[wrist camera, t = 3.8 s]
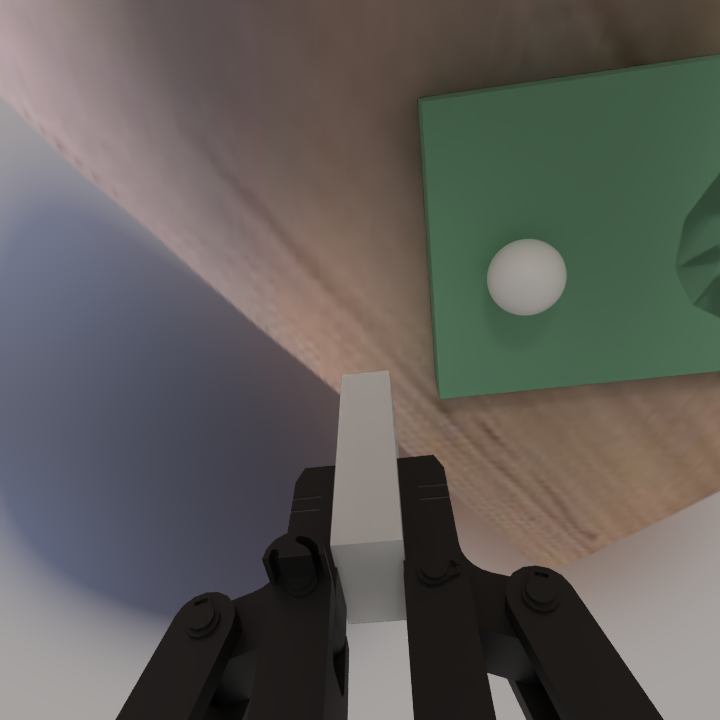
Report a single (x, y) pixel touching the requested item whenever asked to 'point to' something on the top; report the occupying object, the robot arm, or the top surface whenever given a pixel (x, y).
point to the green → (577, 226)
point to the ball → (526, 277)
